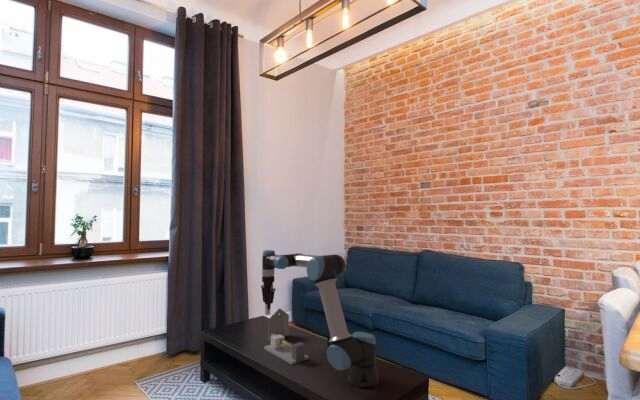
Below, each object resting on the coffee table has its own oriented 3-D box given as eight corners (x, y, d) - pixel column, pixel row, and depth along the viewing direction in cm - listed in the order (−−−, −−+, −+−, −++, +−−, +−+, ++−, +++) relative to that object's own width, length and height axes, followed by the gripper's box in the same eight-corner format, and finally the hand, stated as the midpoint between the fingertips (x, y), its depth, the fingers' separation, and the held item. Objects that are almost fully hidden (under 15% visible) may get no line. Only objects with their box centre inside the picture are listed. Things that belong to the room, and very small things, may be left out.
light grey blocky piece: (308, 358, 202) (308, 342, 202) (291, 364, 194) (291, 348, 195) (280, 344, 223) (280, 329, 224) (264, 349, 216) (264, 334, 216)
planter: (281, 332, 245) (282, 303, 245) (288, 335, 239) (289, 306, 240) (261, 337, 234) (262, 308, 234) (268, 341, 228) (269, 310, 228)
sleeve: (284, 344, 214) (284, 336, 214) (275, 346, 209) (275, 339, 210) (279, 341, 218) (279, 334, 218) (270, 344, 213) (270, 336, 213)
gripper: (279, 276, 216) (278, 315, 216) (267, 273, 226) (267, 310, 225) (269, 278, 211) (268, 318, 211) (257, 274, 221) (256, 312, 220)
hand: (267, 314), depth 218 cm, fingers closed
